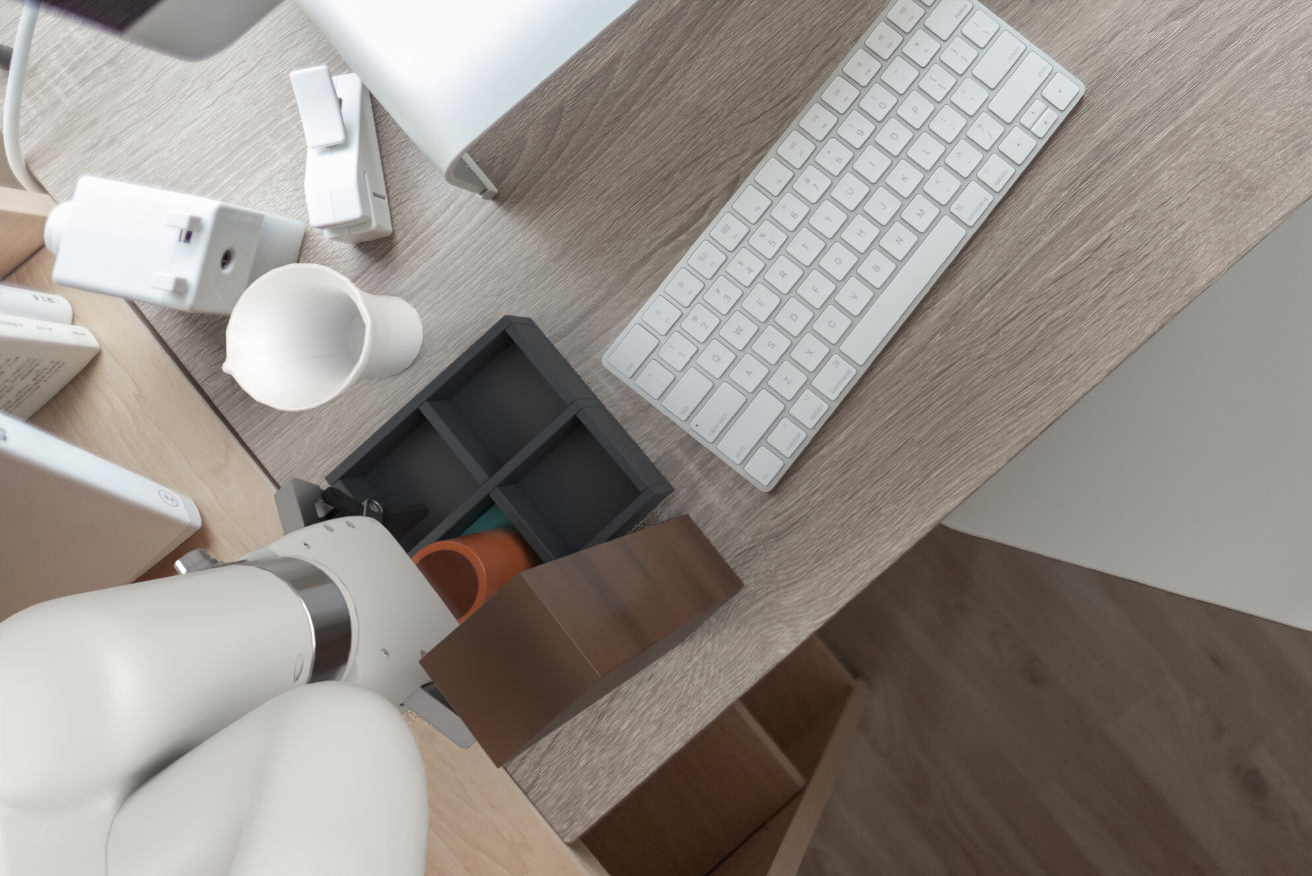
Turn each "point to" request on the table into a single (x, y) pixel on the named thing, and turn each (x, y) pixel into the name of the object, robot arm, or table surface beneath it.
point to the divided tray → (508, 452)
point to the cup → (315, 337)
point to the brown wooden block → (576, 632)
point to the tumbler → (474, 566)
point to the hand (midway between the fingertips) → (456, 586)
